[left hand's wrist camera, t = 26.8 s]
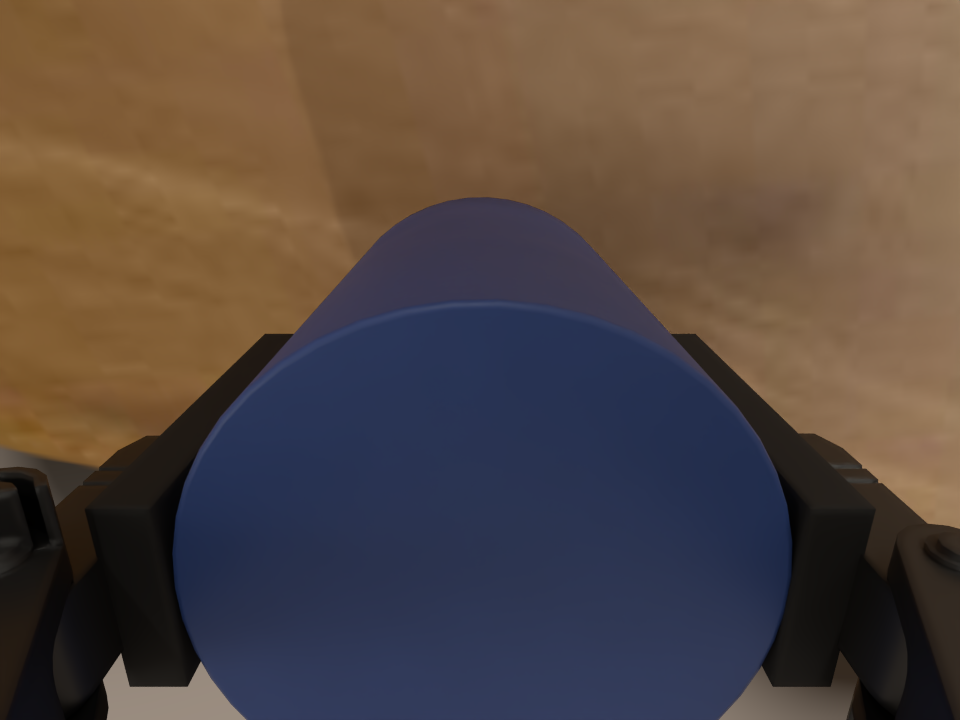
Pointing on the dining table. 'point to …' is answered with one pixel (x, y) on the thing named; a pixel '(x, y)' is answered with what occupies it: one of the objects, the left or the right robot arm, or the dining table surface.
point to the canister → (482, 498)
